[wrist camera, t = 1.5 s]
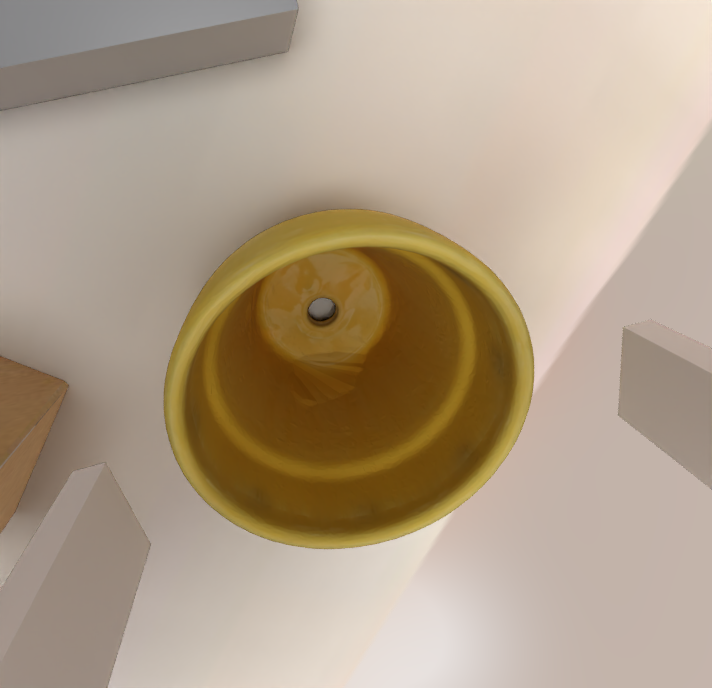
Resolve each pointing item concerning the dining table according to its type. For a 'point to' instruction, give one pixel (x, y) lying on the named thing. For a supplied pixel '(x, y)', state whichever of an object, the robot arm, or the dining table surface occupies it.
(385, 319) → the plant pot
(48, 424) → the sandwich container
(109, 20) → the crate
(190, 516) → the dining table surface
